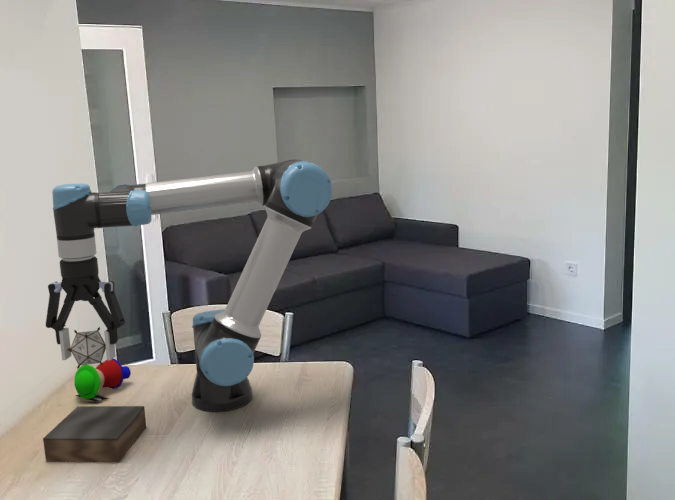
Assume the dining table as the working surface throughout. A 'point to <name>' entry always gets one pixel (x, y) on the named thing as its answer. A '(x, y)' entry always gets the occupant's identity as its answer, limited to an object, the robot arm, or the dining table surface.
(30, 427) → the dining table surface
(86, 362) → the game die
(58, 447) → the dark gray square base
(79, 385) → the toy figure
